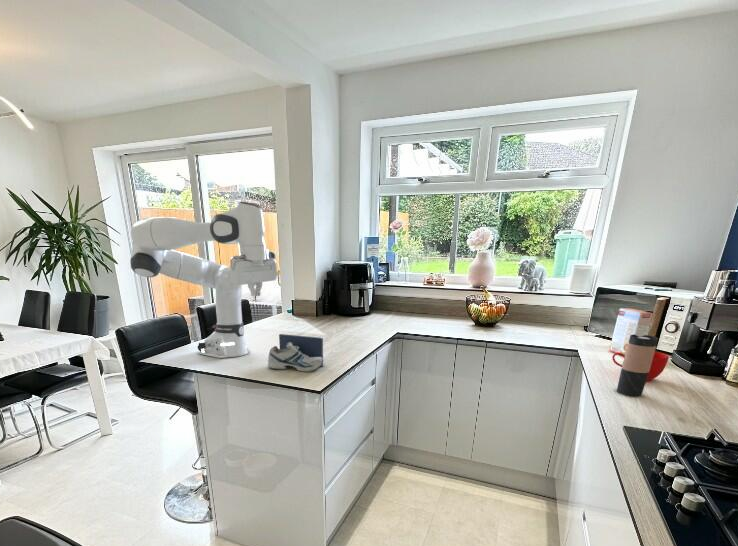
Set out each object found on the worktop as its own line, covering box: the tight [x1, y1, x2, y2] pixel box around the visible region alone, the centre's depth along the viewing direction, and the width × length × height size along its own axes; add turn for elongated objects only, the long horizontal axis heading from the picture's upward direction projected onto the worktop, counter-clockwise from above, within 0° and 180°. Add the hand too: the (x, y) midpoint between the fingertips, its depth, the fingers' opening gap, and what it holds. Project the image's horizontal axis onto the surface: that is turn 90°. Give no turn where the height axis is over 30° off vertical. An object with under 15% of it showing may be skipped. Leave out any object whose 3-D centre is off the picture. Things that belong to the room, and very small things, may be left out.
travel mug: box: [616, 334, 659, 398], centre depth 135 cm, size 8×8×20 cm
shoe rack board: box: [278, 333, 324, 368], centre depth 167 cm, size 20×1×12 cm, turn 69°
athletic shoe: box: [267, 342, 324, 373], centre depth 162 cm, size 10×23×12 cm, turn 90°
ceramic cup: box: [611, 350, 670, 382], centre depth 152 cm, size 13×17×10 cm
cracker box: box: [608, 307, 654, 355], centre depth 182 cm, size 14×6×21 cm, turn 179°
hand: (255, 296), depth 139 cm, fingers closed
